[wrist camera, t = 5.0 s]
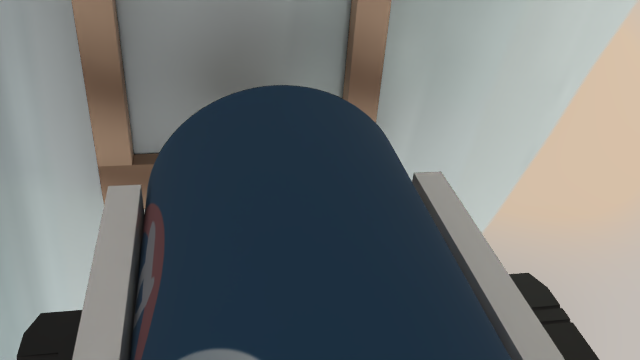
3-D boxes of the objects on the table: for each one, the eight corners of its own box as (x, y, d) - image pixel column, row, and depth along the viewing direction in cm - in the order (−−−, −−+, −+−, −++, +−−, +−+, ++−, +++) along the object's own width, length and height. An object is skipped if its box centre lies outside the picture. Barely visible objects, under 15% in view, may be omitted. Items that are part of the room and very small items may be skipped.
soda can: (96, 141, 16) (-60, 728, 6) (328, 18, 15) (590, 448, 5) (229, 297, 20) (268, 808, 10) (417, 204, 19) (663, 654, 9)
